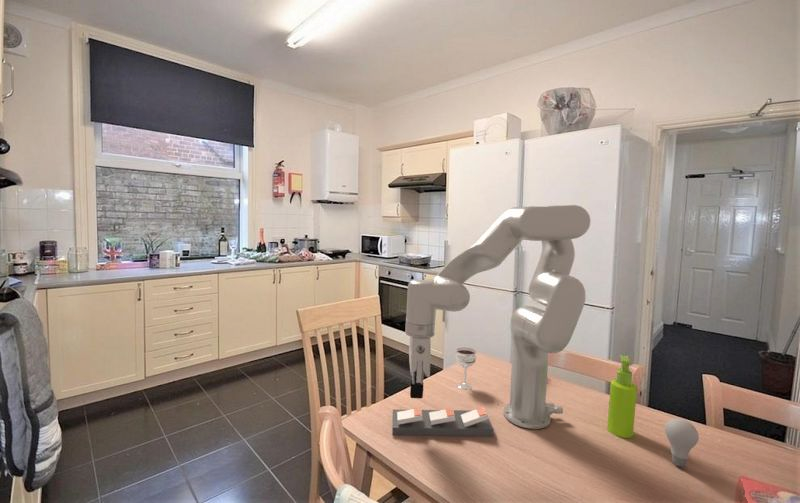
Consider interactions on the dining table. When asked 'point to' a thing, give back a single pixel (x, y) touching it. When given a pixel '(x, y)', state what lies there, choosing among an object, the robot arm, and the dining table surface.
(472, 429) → the strip
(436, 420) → the rocker middle
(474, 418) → the rocker
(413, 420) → the block
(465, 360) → the wineglass
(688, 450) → the lightbulb
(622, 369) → the soap dispenser
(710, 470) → the dining table surface
